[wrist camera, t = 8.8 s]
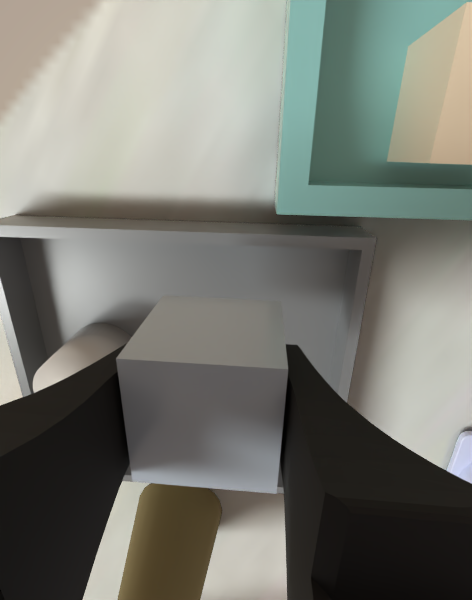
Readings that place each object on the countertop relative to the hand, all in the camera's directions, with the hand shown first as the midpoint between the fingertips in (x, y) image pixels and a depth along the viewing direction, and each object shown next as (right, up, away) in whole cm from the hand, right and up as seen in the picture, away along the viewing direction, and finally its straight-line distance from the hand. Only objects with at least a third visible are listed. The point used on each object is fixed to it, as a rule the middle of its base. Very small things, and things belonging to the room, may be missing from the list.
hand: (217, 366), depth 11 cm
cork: (-3, -13, +13) cm, 19 cm away
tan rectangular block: (+9, +10, +2) cm, 13 cm away
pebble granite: (-7, -1, +8) cm, 10 cm away
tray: (-2, -1, +8) cm, 8 cm away
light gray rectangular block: (0, 0, +1) cm, 1 cm away
